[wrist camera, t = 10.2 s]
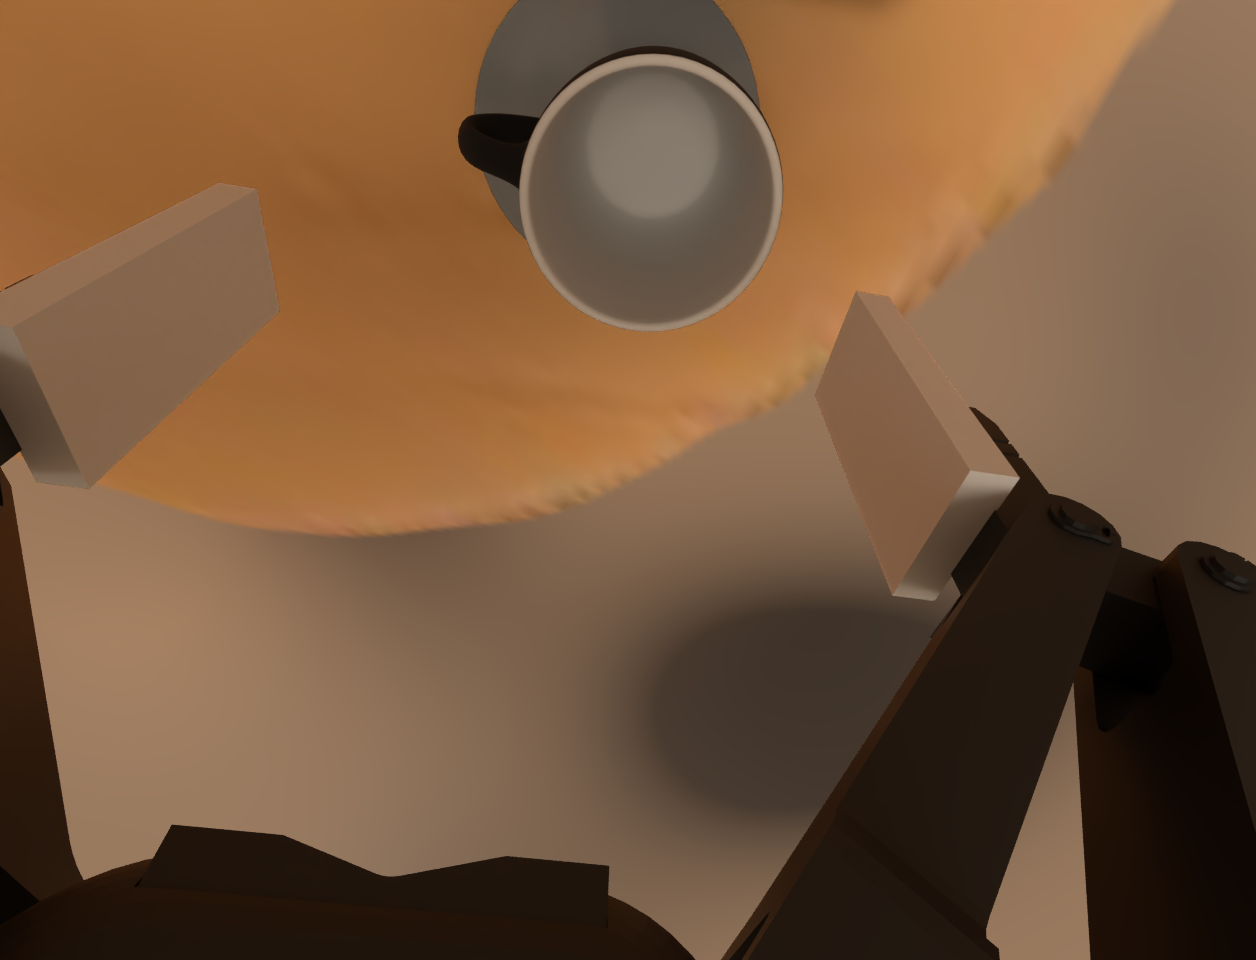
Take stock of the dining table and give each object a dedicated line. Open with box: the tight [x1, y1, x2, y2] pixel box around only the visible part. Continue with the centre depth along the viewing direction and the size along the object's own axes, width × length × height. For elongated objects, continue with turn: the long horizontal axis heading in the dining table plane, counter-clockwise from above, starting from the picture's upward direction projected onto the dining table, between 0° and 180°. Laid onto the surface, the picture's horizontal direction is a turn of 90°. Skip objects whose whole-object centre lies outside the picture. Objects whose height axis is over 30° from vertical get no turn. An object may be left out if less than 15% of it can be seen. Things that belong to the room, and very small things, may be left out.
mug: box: [458, 46, 783, 332], centre depth 26 cm, size 12×9×10 cm
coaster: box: [474, 0, 759, 239], centre depth 30 cm, size 13×13×1 cm
